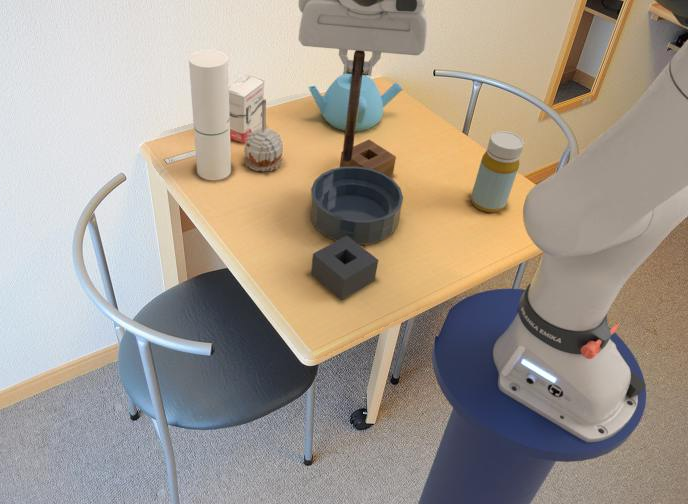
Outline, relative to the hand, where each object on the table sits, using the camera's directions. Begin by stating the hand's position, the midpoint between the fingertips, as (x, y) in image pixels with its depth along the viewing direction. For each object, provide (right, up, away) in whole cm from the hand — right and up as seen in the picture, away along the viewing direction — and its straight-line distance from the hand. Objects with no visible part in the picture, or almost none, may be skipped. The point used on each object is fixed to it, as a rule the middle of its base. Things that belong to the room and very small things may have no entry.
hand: (357, 73), depth 109 cm
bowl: (+1, -23, +19) cm, 29 cm away
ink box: (-21, -2, +40) cm, 45 cm away
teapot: (+4, +3, +45) cm, 46 cm away
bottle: (+29, -20, +24) cm, 42 cm away
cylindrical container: (-27, -12, +29) cm, 41 cm away
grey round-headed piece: (-17, -10, +31) cm, 37 cm away
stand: (-2, -34, +7) cm, 35 cm away
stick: (-1, -13, +12) cm, 18 cm away
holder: (+5, -13, +29) cm, 32 cm away
